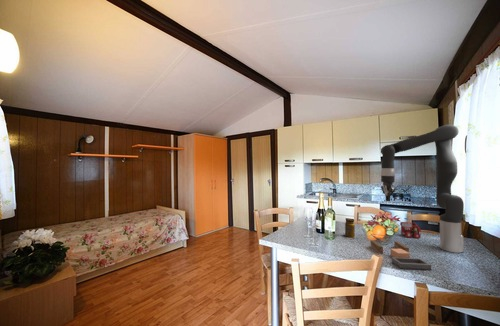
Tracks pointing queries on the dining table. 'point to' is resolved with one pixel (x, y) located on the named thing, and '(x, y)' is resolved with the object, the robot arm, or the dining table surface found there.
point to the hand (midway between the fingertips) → (387, 201)
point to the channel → (379, 248)
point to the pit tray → (411, 263)
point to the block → (399, 253)
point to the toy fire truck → (410, 230)
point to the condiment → (349, 229)
